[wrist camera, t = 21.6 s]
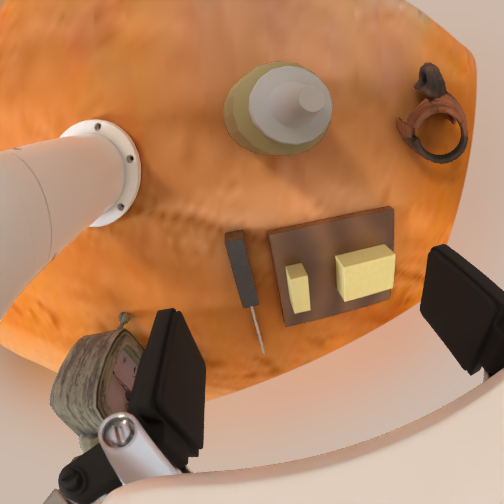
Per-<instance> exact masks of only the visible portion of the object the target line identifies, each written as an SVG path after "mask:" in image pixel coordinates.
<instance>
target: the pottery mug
mask: <svg viewBox="0 0 504 504" xmlns="http://www.w3.org/2000/svg"><path fill="white" fill-rule="evenodd" d="M414 88H415V89H419V90H421V92H422V93H423V94H425V95H426V96H428V97H430V98H435V99H434V100H433V101H432V102H430V101H429V100H428V99H424V100H423V101H422V102H421V103H420V104H419V105H417V106H416V108H415V109H414V110H413V112H412V113H411V114H410V115H409V117H408V119H407V122H406V123H405V122H403V121H402V120H401V119H400V118H397V120H396V121H397V128H398V130H399V132H400V134H402V135H403V140H404V141H405V142H406V143H407V144H408V145H409V146H410V148H411V149H412V150H414V151H415V152H416V153H417V154H419V155H421V156H422V157H424V158H425V159H427V160H430V161H431V162H434V163H440V164H443V163H449V162H452V161H454V160H455V159H457V158H458V157H459V156H461V154H462V153H463V152H464V150H465V148H466V145H467V141H468V136H467V135H468V132H467V122H466V117H465V113H464V111H463V109H462V107H461V106H460V104H459V103H458V102H457V100H456V99H455V98H454V97H453V96H452V95H451V94H450V93H448V92H447V91H446V87H445V82H444V80H443V78H442V75H441V73H440V70H439V68H438V67H436V66H435V65H434V64H432V63H424V65H423V66H421V68H420V71H419V80H418V82H417V83H416V84H415V85H414ZM436 113H445V114H446V119H448V120H449V121H451V123H452V124H455V122H456V120H457V122H458V123H459V125H460V129H461V139H460V142H459V144H458V145H457V147H456V148H455V149H454V150H453V151H452V152H450V153H448V154H444V155H434V154H431V153H429V152H428V151H426V150H425V149H424V148H423V146H422V145H421V143H420V140H419V138H418V137H416V136H415V131H414V130H415V129H417V130H419V129H420V127H421V125H422V123H423V122H424V120H425V119H426V118H428V117H429V116H431V115H433V114H436Z"/></svg>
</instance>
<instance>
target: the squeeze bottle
mask: <svg viewBox="0 0 504 504" xmlns="http://www.w3.org/2000/svg"><path fill="white" fill-rule="evenodd" d="M332 104H333V103H332V100H331V97H330V94H329V90H328V88H327V87H326V86H325V84H324V83H323V82H322V81H321V80H320V78H319V77H318V76H316V75H315V73H313V72H311V71H310V70H308V69H306V68H304V67H302V66H301V65H299V64H296V63H289V62H282V61H275V62H271V63H267V64H263V65H259V66H257V67H256V68H255V69H253V70H252V71H251V72H249V73H248V74H247V75H245V76H244V77H243V78H242V79H241V80H239V81H238V82H237V83H236V84H235V85H234V86H233V87H232V88H231V90H230V92H229V94H228V96H227V98H226V99H225V101H224V111H223V120H224V122H225V125H226V128H227V131H228V133H229V135H230V136H231V137H232V138H233V139H234V140H235V141H236V142H237V143H238V144H239V145H240V146H241V147H243V148H245V149H247V150H249V151H251V152H253V153H256V154H270V155H286V156H290V155H293V154H297V153H300V152H304V151H307V150H309V149H310V148H311V147H312V146H314V145H315V144H316V143H317V142H319V141H320V140H321V139H322V138H323V136H324V134H325V132H326V130H327V129H328V127H329V125H330V121H331V115H332Z"/></svg>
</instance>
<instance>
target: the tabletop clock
mask: <svg viewBox="0 0 504 504" xmlns="http://www.w3.org/2000/svg"><path fill="white" fill-rule="evenodd" d="M129 320H130V317H129V315H128V314H127V313H126V312H122V313H120V315H119V321H120V322H121V323H120V325H119V327H118V329H117V330H114V331H109V332H103V333H98V334H93V335H87V336H84V337H82V338H80V339H79V340H78V341H77V342H76V343H75V345H74V346H73V347H72V349H71V350H70V352H69V353H68V355H67V357H66V358H65V360H64V362H63V363H62V365H61V367H60V369H59V372H58V374H57V377H56V379H55V381H54V384H53V387H52V390H51V395H50V405H51V407H52V409H53V410H54V412H55V413H56V414H57V416H58V417H59V418H60V419H61V420H62V421H63V422H64V423H65V424H66V425H67V426H69V428H71V429H72V430H73V431H74V432H75V433H76V434H77V435H78V436H79V443H80V446H81V449H82V450H83V452H84V453H85V452H87V451H88V450H89V449H91V448H92V447H94V446H95V445H96V444H98V443H99V439H98V430H99V428H100V425H101V424H102V422H103V421H104V420H105V419H106V418H107V417H108V416H110V415H112V414H114V413H118V412H127V408H128V404H129V400H130V396H131V392H132V388H133V384H134V380H135V377H136V373H137V369H138V366H139V362H140V359H141V355H142V353H143V351H144V349H143V347H142V346H141V345H140V344H139V342H138V341H137V340H136V338H135V337H134V336H133V335H132V334H131V333H130V332H129V331H128V330H126V329H125V328H124V329H123V326H124V324H126V323H128V321H129ZM78 457H80V456H77V457H75V458H74V459H73V460H72V461H74V460H75V459H77V458H78ZM72 461H71V462H72Z"/></svg>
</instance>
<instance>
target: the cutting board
mask: <svg viewBox="0 0 504 504" xmlns="http://www.w3.org/2000/svg"><path fill="white" fill-rule="evenodd" d="M268 237H269V242H270V247H271V252H272V257H273V263H274V268H275V273H276V279H277V284H278V289H279V295H280V300H281V306H282V311H283V317H284V322H285V326H286V327H289V326H293V325H297V324H301V323H306V322H310V321H314V320H318V319H322V318H325V317H329V316H333V315H337V314H340V313H344V312H348V311H351V310H355V309H358V308H362V307H365V306H369V305H372V304H375V303H378V302H382V301H385V300H388V299H390V291H391V289H388V290H385V291H381V292H378V293H374V294H371V295H368V296H364V297H361V298H357V299H354V300H350V301H346V302H345V301H344V300H343V298H342V296H341V295H340V293H339V291H338V290H337V276H336V258H335V256H337V255H341V254H345V253H349V252H354V251H358V250H362V249H366V248H370V247H374V246H378V245H382V244H385V245H386V246H387V247H388V248H389V249H390V250H392V251H393V247H394V209H393V208H392V207H390V206H388V207H383V208H377V209H372V210H367V211H362V212H357V213H352V214H347V215H342V216H337V217H333V218H328V219H323V220H318V221H313V222H308V223H304V224H299V225H294V226H289V227H285V228H280V229H275V230H271V231H268ZM299 263H302V265H303V267H304V269H305V271H306V273H307V275H308V284H309V296H310V309H311V310H309V311H305V312H300V313H296V314H295V313H294V310H293V307H292V304H291V301H290V296H289V289H288V282H287V274H286V266H289V265H294V264H299Z"/></svg>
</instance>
